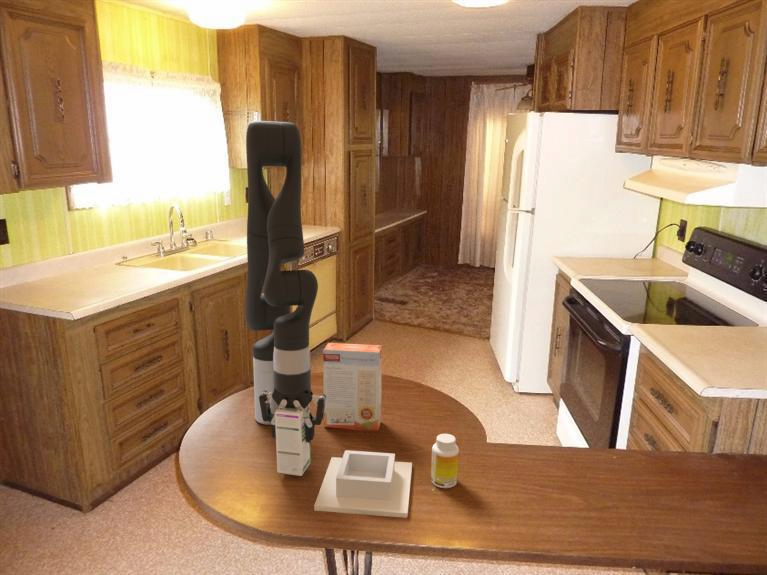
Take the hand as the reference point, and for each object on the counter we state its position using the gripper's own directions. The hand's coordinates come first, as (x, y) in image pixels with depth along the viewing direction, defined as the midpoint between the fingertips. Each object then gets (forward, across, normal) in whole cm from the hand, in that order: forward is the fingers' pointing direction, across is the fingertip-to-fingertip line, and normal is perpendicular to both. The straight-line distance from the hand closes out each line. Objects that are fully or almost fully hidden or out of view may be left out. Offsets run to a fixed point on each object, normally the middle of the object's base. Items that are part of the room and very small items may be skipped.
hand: (293, 439), depth 119 cm
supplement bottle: (+8, -32, -1) cm, 33 cm away
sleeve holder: (+8, -16, +3) cm, 18 cm away
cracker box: (+8, -9, -24) cm, 27 cm away
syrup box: (+7, 0, 0) cm, 7 cm away
